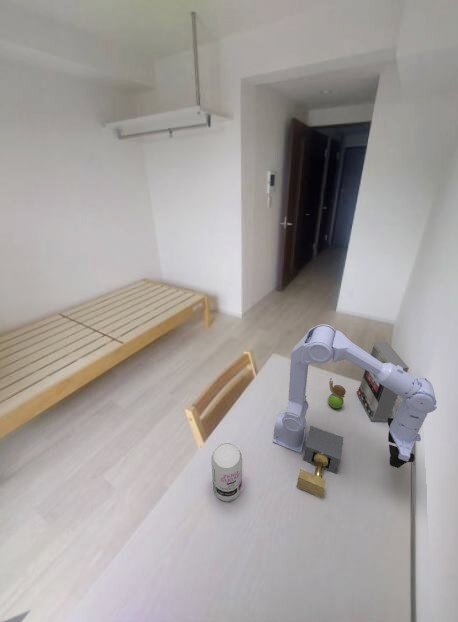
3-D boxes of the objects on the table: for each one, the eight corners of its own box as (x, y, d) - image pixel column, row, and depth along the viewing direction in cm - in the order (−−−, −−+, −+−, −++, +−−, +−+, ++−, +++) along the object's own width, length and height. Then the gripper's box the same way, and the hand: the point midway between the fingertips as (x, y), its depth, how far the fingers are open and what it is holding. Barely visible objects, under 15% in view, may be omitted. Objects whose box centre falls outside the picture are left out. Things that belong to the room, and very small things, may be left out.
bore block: (302, 460, 84) (305, 446, 81) (307, 439, 90) (310, 425, 87) (336, 474, 80) (340, 459, 77) (339, 451, 87) (343, 437, 83)
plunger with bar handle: (296, 486, 77) (298, 476, 75) (306, 442, 89) (309, 432, 87) (321, 497, 74) (324, 487, 72) (329, 451, 86) (331, 440, 84)
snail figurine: (327, 397, 107) (332, 374, 101) (343, 404, 103) (350, 380, 98) (322, 405, 103) (327, 382, 97) (339, 413, 100) (346, 389, 94)
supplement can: (227, 467, 83) (226, 435, 75) (247, 487, 77) (248, 455, 70) (207, 486, 78) (204, 454, 70) (227, 509, 72) (226, 477, 65)
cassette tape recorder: (355, 393, 108) (370, 342, 96) (371, 393, 108) (387, 342, 96) (370, 422, 96) (389, 368, 84) (387, 422, 96) (409, 368, 84)
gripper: (431, 450, 62) (412, 484, 68) (422, 405, 73) (407, 437, 80) (396, 438, 64) (381, 472, 71) (392, 396, 76) (380, 428, 82)
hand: (393, 453), depth 75 cm, fingers open, 7 cm apart
